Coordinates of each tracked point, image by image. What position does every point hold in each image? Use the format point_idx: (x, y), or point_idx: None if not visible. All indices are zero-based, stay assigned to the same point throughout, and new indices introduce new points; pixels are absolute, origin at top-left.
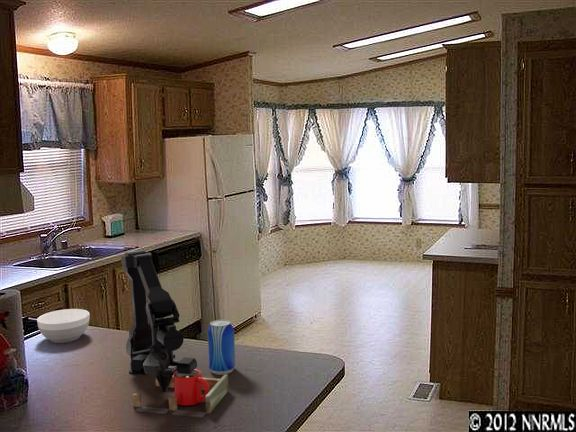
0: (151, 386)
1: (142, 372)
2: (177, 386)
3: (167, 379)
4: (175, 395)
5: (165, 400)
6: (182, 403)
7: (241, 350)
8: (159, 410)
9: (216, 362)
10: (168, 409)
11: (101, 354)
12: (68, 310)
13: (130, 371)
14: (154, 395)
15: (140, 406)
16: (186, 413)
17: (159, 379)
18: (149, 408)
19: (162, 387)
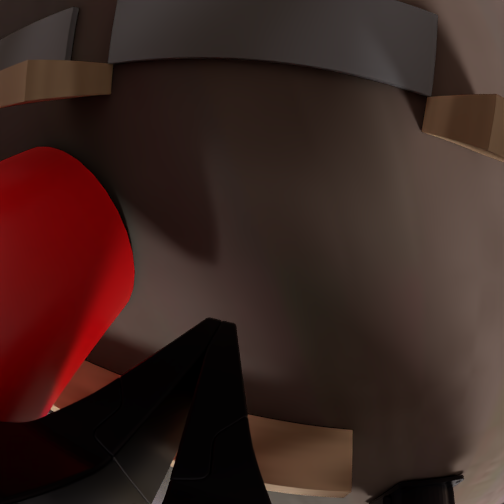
0: (379, 427)
1: (417, 486)
2: None
3: (70, 406)
4: (49, 203)
5: (213, 245)
6: (34, 149)
7: None
8: (180, 14)
9: None
10: (111, 55)
11: (495, 496)
12: None
13: (458, 481)
14: (343, 335)
15: (422, 90)
16: (9, 52)
17: (208, 451)
18: (305, 38)
19: (217, 356)
